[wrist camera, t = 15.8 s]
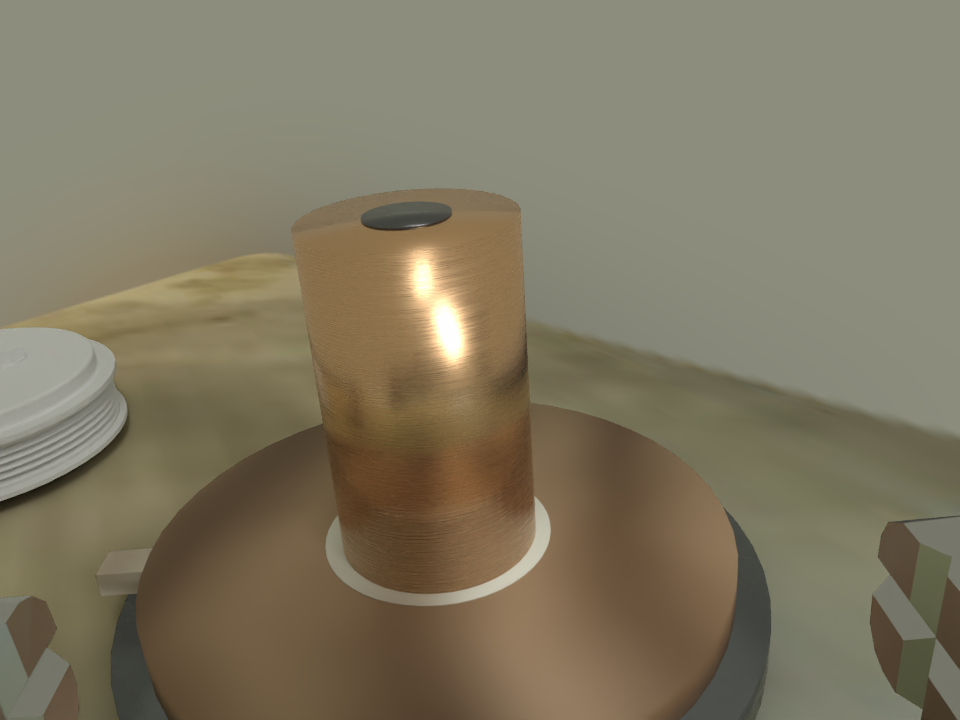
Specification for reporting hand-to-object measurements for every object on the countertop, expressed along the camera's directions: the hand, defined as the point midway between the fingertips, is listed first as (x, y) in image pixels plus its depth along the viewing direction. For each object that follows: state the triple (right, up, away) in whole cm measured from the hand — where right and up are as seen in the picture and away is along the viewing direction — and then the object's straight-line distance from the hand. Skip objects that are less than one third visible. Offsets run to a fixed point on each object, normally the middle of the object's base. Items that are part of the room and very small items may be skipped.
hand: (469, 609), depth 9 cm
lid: (-23, -2, +31) cm, 39 cm away
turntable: (-2, -4, +19) cm, 20 cm away
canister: (-1, -3, +18) cm, 19 cm away
